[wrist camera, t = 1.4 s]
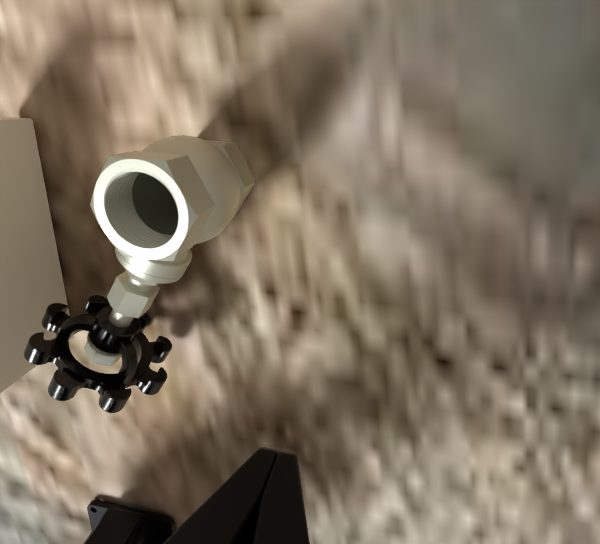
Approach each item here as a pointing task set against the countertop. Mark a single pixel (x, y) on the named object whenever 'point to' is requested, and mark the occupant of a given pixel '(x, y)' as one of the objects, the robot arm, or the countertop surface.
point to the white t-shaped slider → (24, 249)
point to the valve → (143, 259)
